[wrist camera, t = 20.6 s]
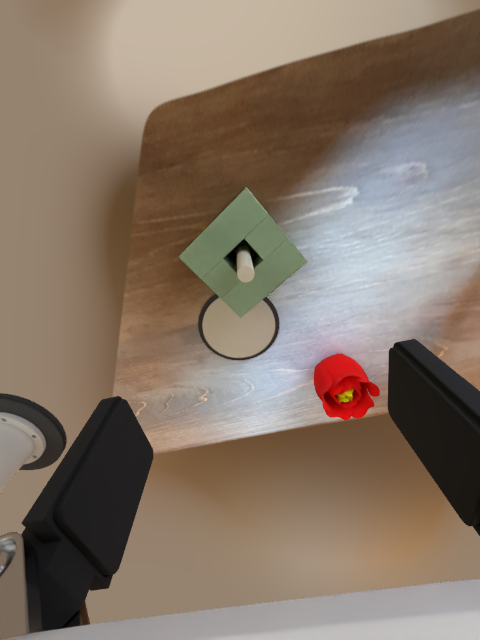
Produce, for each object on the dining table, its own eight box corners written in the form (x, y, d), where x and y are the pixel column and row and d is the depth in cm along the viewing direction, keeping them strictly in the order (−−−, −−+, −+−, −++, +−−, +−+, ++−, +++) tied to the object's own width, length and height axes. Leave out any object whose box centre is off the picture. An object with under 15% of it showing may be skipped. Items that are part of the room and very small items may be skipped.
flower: (342, 337, 41) (364, 369, 34) (365, 369, 44) (390, 404, 36) (299, 364, 43) (312, 399, 36) (324, 393, 46) (340, 431, 39)
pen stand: (186, 247, 35) (177, 257, 29) (244, 188, 32) (246, 187, 26) (239, 300, 38) (240, 318, 33) (296, 251, 35) (307, 261, 30)
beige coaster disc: (181, 324, 40) (181, 325, 39) (241, 270, 36) (241, 271, 36) (236, 372, 44) (236, 374, 43) (295, 327, 40) (295, 329, 40)
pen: (229, 248, 35) (227, 273, 24) (243, 235, 34) (246, 255, 23) (242, 261, 36) (244, 292, 25) (255, 249, 35) (264, 275, 24)
